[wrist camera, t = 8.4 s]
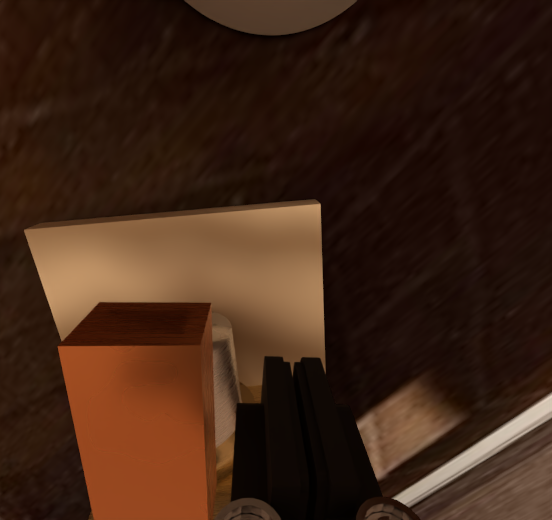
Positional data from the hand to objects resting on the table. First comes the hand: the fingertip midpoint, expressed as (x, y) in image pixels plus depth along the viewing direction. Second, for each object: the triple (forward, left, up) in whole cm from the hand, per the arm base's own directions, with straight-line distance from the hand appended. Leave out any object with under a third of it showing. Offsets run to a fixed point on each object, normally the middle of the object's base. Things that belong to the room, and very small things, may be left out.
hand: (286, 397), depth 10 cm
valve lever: (-5, +4, +1) cm, 6 cm away
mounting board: (-11, +5, -11) cm, 16 cm away
